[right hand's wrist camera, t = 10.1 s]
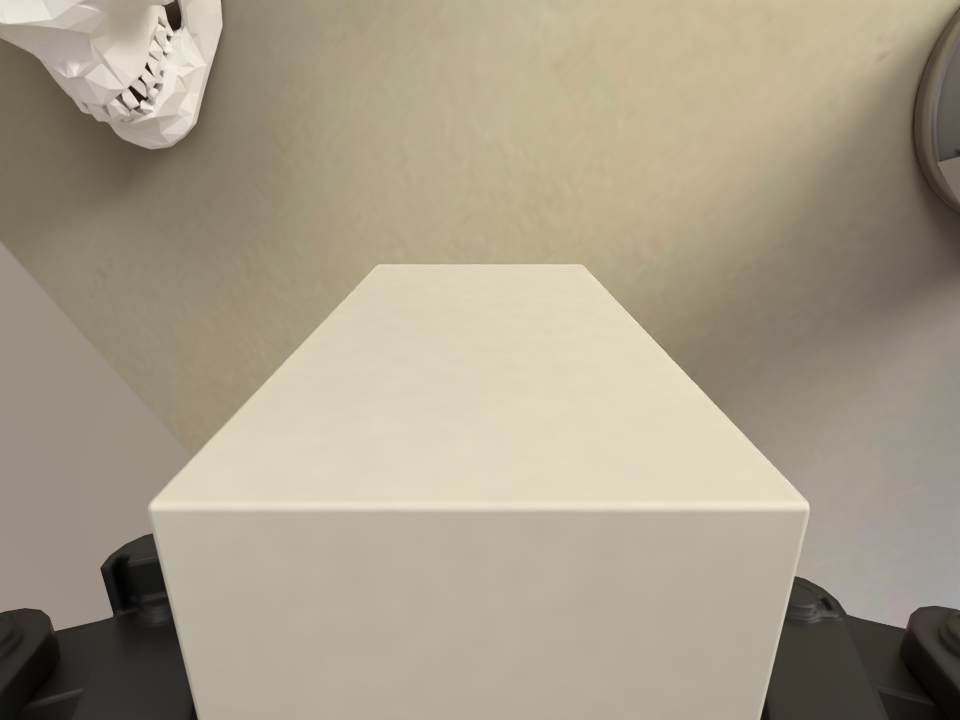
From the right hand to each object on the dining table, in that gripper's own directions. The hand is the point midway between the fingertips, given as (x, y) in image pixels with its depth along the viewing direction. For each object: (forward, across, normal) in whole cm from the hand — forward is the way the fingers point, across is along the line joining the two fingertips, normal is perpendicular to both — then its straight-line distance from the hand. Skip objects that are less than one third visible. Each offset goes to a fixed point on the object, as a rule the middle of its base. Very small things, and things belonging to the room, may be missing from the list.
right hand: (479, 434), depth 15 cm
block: (+3, 0, 0) cm, 3 cm away
